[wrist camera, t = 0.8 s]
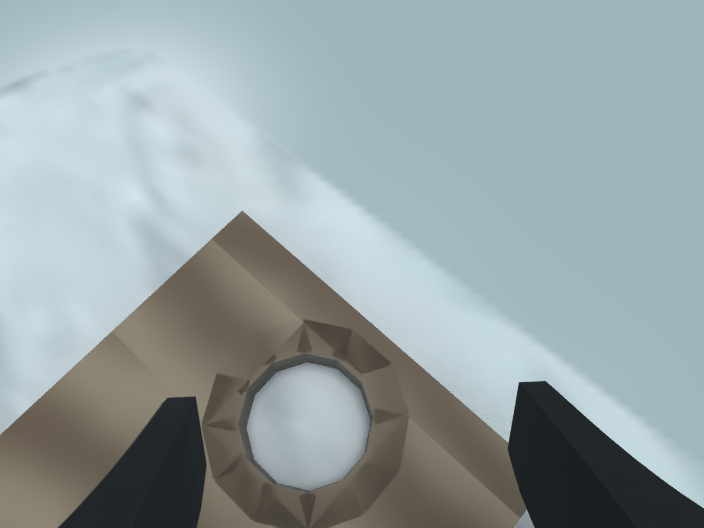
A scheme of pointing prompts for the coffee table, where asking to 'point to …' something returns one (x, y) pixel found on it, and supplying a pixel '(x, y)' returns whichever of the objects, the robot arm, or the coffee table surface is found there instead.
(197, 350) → the wooden board with hole
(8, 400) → the coffee table surface
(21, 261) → the coffee table surface
